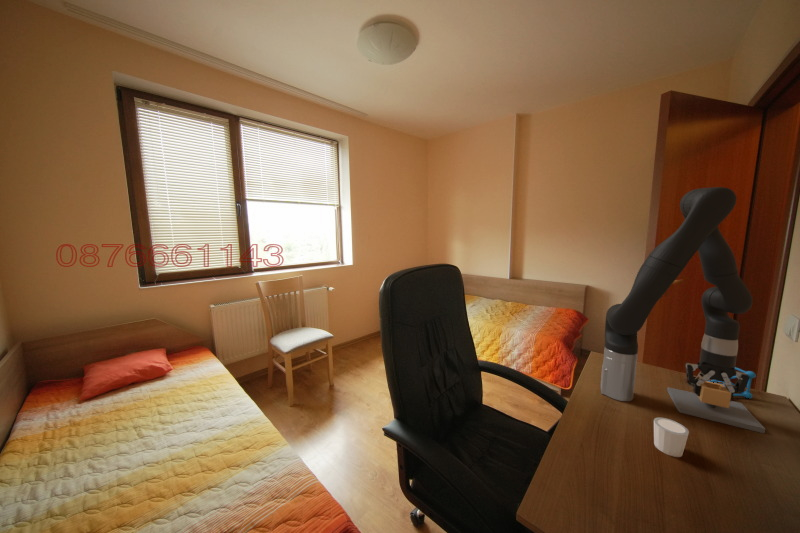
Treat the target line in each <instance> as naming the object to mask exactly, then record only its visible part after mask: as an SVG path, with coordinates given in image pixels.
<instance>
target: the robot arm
mask: <svg viewBox="0 0 800 533" xmlns="http://www.w3.org/2000/svg"><path fill="white" fill-rule="evenodd" d="M737 201H738V200H737V194H736V192H735V191H733V190H732V189H731V188H729V187H723V186H715V187H714V186H713V187H701V188H696V189H692V190H690V191H688V192H686V193H685V194H684V195H683V196H682V197H681V199H680V201H679V209H680V212H681V214H682V217H683V218H684V220H683V222H682V223H681V224H680V226H679V227H678V228H677V229H676V231H674V232H673V233H672V234H671V235H670V236H669V237H667V238H666V239H665V240H663V241H662V242H661V243H659V244H658V245H657V246H655V247H654V249H652V251H651V252H650V253H649V254H648V256H647V257H646V259H644V261H643V263H642V265H641V266H640V268H639V269H638V272H637V274H636V276H635V278H634V281H633V284H632V286H631V289H630V292H629V293H628V294H627V296H626V297H625V299H624V300H623V301H622V303H615V304H614V305H613V304H612V305H611V306H610V307H609V308H608V309H607V311H606V315H605V321H604V322H605V323H604V348H603V349H604V350H603V362H602V364H601V374H600V375H601V376H600V385H599V386H600V392H601V395H605V396H607V397H609V398H610V399H613V400H615V401H621V402H631V401H633V399H634V395H635V394H634V391H635V382H636V372H637V361H638V352H639V343H638V332H640V330H641V329H642V327H644V325H645V322H646V321H647V318H648V317H649V315H650V314H651V311H652V310H653V308H654V307H655V306H656V304H657V303H658V302H659V301H660V299H661V298H662V297H663V296H664V295H665V293H666V292H667V290H669V288H670V287H671V286H672V284H674V282H675V281H676V280H677V278H678V277H679V276H680V274H681V273H682V272H683V270H684V269H685V268H686V267H687V265H688V263H689V262H690V261H691V260H692V258H693V257H694V256H695V254H696V253H697V252H698V256H699V260H700V264H701V269H702V273H703V278H704V280H705V281H706V282H707V283H708V284H711V285H714V286H713V287H709V288H707V289H706V290H705V291H704V292H703V294H702V296H701V298H700V299H701V306H702V311H703V315H704V318H705V326H704V334H703V336H702V339H701V340H702V341H701V343H700V353H699V354H700V355H699V360H698V362H697V363H690V362H688V361H686V362H684V365H685V375H686V379H687V380H688V382H689V383H693V388H692V391H693V393H695V394H696V395H697V396H700V392H701V385H702V384H703V383H704V382H706V381H708V380H718V381H721V382H723V383H724V385H725V387H726V388H727V389H728V390H729V392H730V393H731V399H730V401H733V399H734V396H733V394H735V393H739V394H742V392H744V391H746V388H747V383H748V381H749V378H750V377H749V376H748V375H747V374H746V373H744V372H741V371H738V370H736V369H735V367H736V364H737V359H738V353H739V351H738V350H739V336H740V330H741V328H740V326H741V325H740V323H739V321H738V320H735V319H734V318H732V317H731V316H730V315H729V314H734V315H735V314H736V315H741V314H745V313H747V312H748V311H750V310H751V308H752V306H753V303H754V302H753V301H754V300H753V296H752V294H751V291H750V290H749V288H748V287H747V286H746V284H745V283H744V281H743V279H742V278H741V276H739V270H738V266H737V265H738V264H737V260H736V257H735V254H734V252H733V250H732V248H731V247H730V245H729V244H728V242H727V241H726V239H725V237H724V236H723V234H722V233H721V231H720V228H719V226H720V224H721V223H722V222H723V221H724V220H725V219H726V218H727V217H728V216H729V215H730V214H731V213H732V211H733V210H734V208H735V207H736V204H737ZM696 369H698V370H699V372H698V374H697V376H696V377H695V376H694V371H696ZM735 375H736V377H737V378H736V381H735V383H734V384H735V386H732V384H731V382H732V381H731V379H730V378H731V377H733V376H735ZM694 377H695V378H694ZM729 379H730V380H729ZM718 381H717V382H718ZM730 381H731V382H730Z"/></svg>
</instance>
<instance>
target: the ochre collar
mask: <svg viewBox="0 0 800 533" xmlns="http://www.w3.org/2000/svg"><path fill="white" fill-rule="evenodd" d="M698 398H699V399H700V400H701V402H704V403H708V404H712V405H717V406H721V407H725V408H729V405H730V399H731V393H730V392H729V390H728V389H727V388H726V387H725V386H724V385H723V384H718V383H713V382H708V380H707V381H706V382H704V383H703V384H702V385H701V392H700V396H698Z"/></svg>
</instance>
